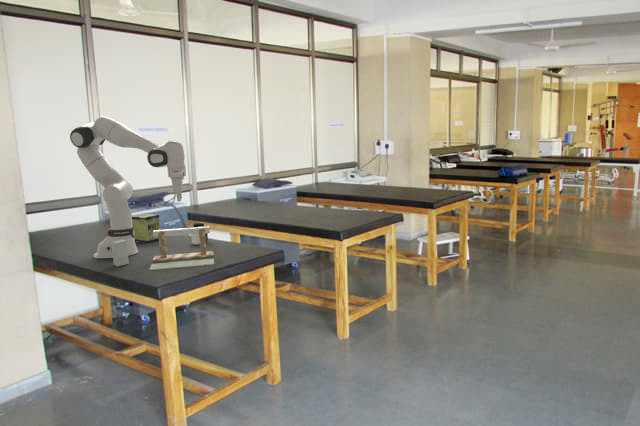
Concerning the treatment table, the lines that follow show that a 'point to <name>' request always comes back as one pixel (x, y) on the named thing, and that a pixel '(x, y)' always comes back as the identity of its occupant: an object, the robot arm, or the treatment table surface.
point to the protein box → (145, 227)
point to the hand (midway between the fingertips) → (179, 200)
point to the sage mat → (182, 264)
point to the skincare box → (120, 252)
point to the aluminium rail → (181, 231)
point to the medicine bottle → (196, 236)
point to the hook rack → (166, 257)
